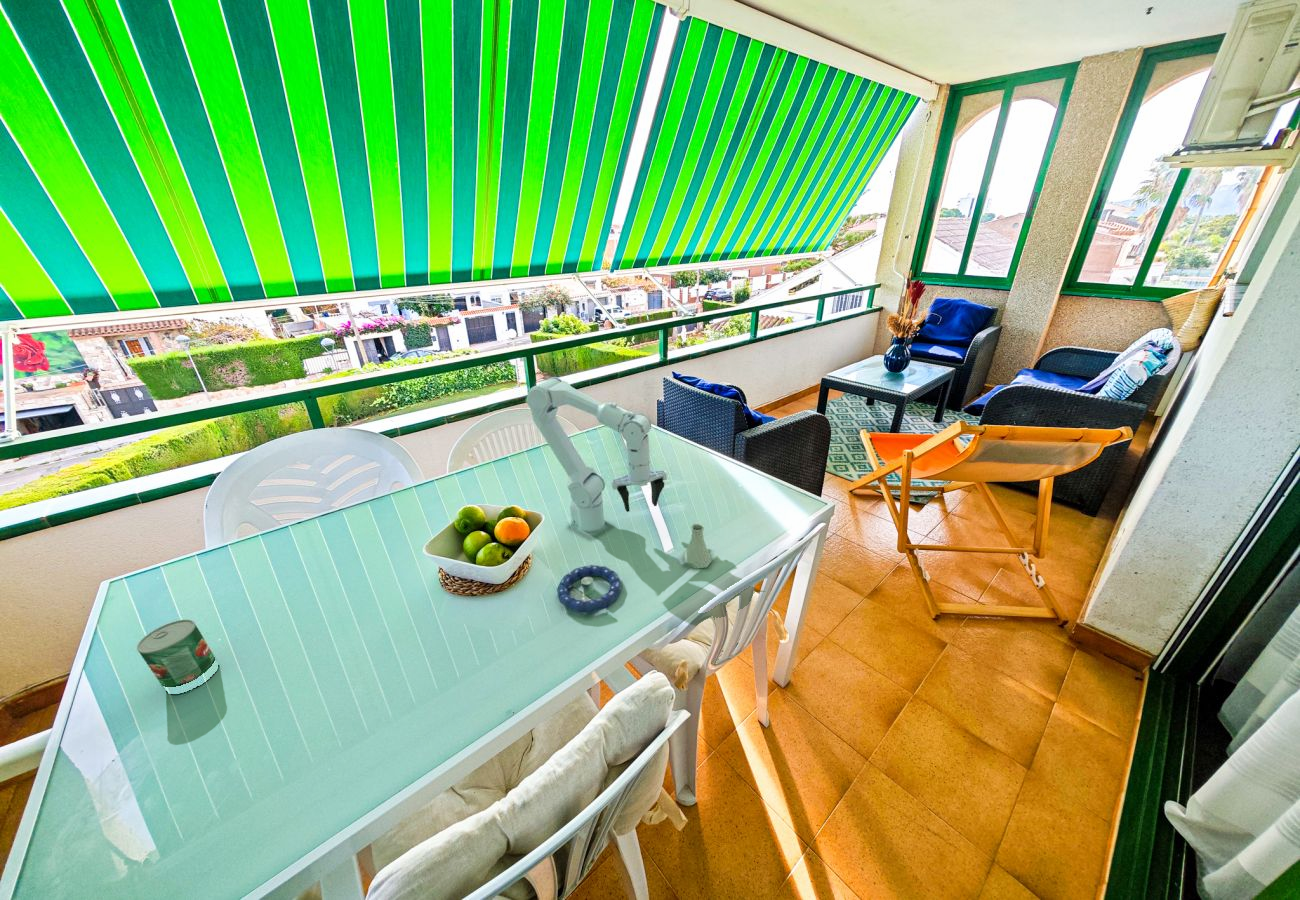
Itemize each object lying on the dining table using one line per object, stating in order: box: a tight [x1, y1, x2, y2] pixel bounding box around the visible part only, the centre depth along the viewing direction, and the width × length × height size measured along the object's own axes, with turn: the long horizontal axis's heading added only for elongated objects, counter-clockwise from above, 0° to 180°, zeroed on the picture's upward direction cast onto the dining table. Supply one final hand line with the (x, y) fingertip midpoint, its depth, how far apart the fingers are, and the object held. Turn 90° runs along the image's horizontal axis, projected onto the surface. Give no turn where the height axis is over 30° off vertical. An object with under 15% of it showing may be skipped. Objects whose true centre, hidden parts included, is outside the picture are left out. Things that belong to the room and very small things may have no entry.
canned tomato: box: [136, 619, 216, 692], centre depth 87 cm, size 8×8×11 cm
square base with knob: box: [568, 576, 595, 616], centre depth 105 cm, size 9×9×4 cm
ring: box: [556, 564, 623, 614], centre depth 105 cm, size 14×14×2 cm
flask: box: [684, 523, 713, 569], centre depth 114 cm, size 7×7×10 cm
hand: (640, 507), depth 123 cm, fingers open, 7 cm apart
